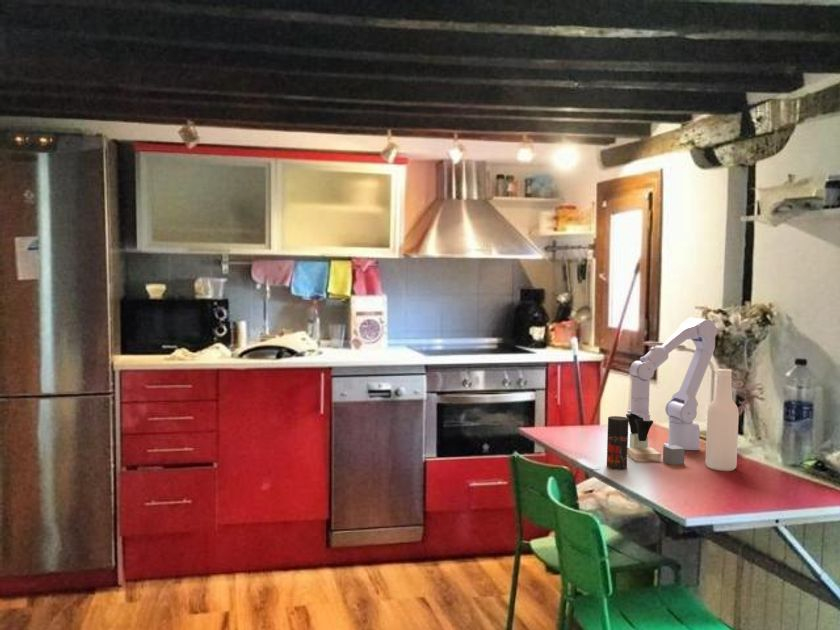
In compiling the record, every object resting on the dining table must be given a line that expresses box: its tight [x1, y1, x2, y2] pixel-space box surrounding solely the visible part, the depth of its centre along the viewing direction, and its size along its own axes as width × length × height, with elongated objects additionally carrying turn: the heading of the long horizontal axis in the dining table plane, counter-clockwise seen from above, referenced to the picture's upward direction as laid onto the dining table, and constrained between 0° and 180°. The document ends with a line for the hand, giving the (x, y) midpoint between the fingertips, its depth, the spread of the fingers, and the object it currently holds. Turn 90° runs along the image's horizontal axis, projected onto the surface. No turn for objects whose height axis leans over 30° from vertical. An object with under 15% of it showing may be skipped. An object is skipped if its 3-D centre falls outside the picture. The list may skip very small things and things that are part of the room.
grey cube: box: [662, 445, 686, 466], centre depth 236 cm, size 4×4×5 cm
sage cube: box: [629, 433, 649, 448], centre depth 252 cm, size 4×4×5 cm
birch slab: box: [627, 447, 662, 462], centre depth 241 cm, size 8×8×2 cm
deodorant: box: [606, 415, 629, 471], centre depth 229 cm, size 6×6×15 cm
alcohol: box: [704, 368, 740, 472], centre depth 230 cm, size 9×9×30 cm
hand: (638, 438), depth 252 cm, fingers open, 7 cm apart
